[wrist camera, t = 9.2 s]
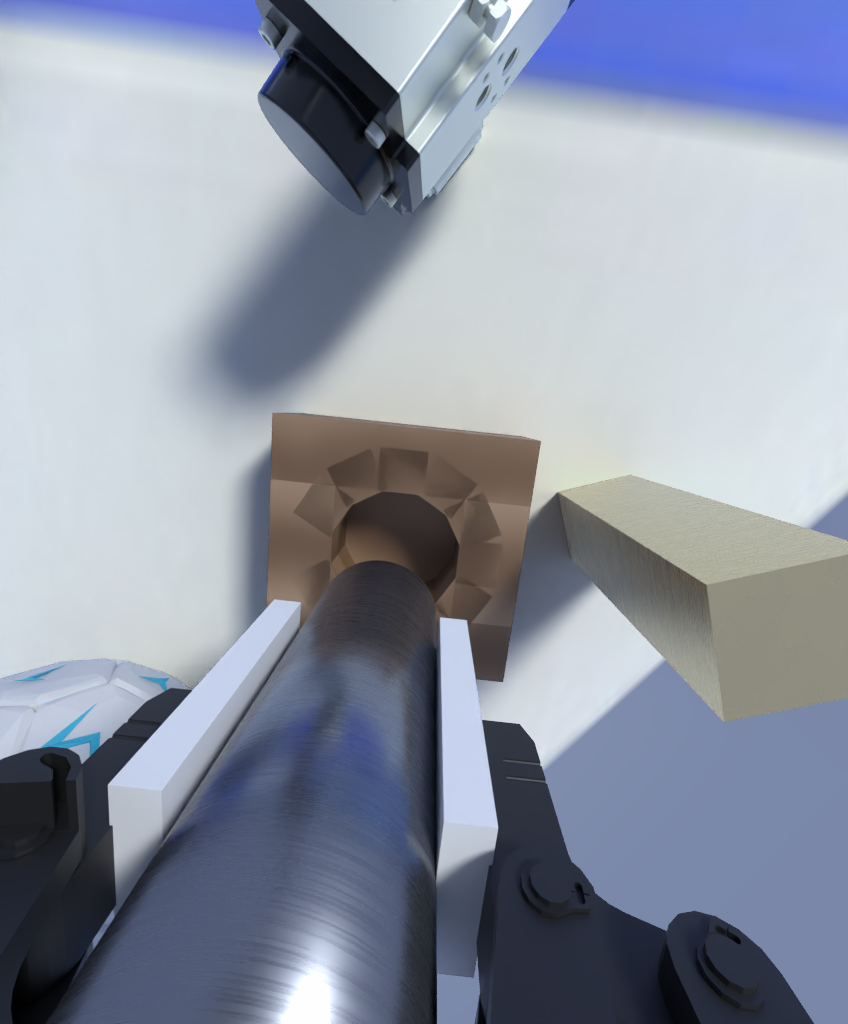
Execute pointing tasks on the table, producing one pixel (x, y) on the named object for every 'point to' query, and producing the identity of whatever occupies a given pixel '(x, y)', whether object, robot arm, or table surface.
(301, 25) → the pneumatic valve
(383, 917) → the cylinder
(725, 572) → the square bit
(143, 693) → the puzzle ball
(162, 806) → the robot arm
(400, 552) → the bore block
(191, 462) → the table surface
